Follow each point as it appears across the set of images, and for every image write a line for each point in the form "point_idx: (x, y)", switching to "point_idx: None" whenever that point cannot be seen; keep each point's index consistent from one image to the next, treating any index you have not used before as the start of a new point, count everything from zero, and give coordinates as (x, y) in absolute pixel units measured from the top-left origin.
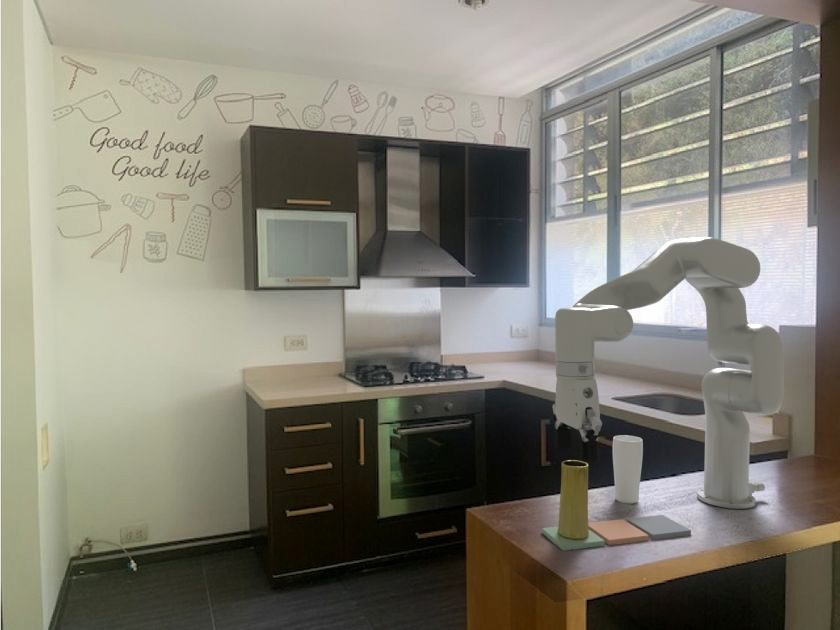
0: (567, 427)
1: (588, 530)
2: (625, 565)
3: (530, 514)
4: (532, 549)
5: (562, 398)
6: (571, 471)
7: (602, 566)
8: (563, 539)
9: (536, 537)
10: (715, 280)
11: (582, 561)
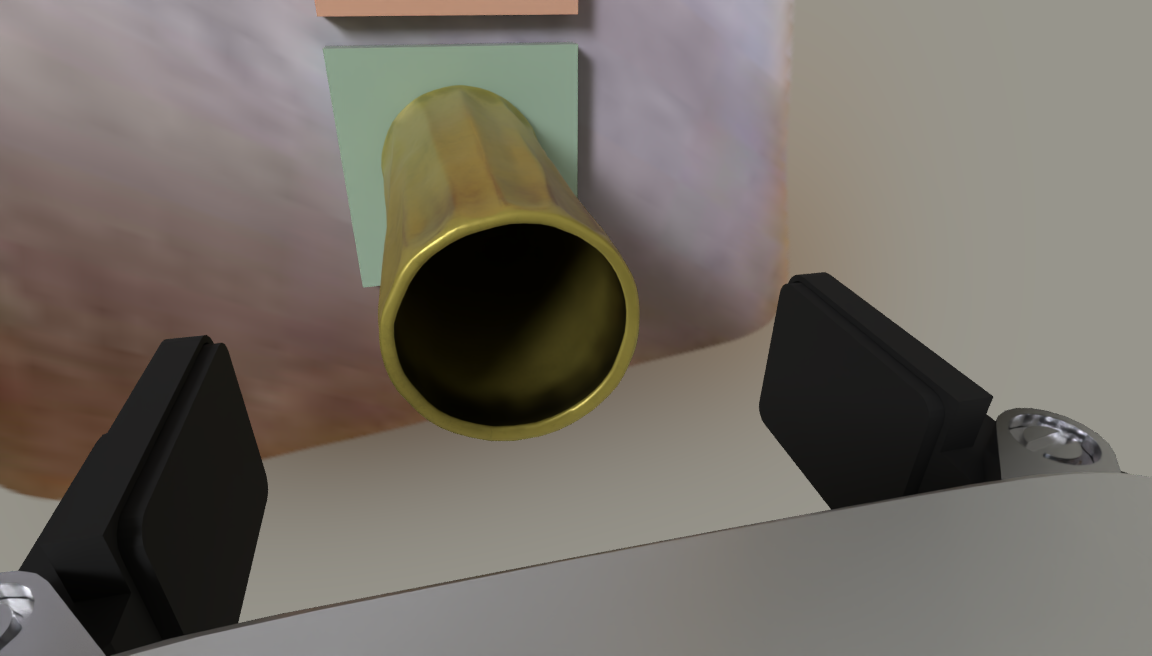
0: (123, 626)
1: (430, 57)
2: (772, 67)
3: (67, 242)
4: None
5: None
6: (590, 375)
7: (743, 170)
8: None
9: None
10: None
11: (680, 226)
